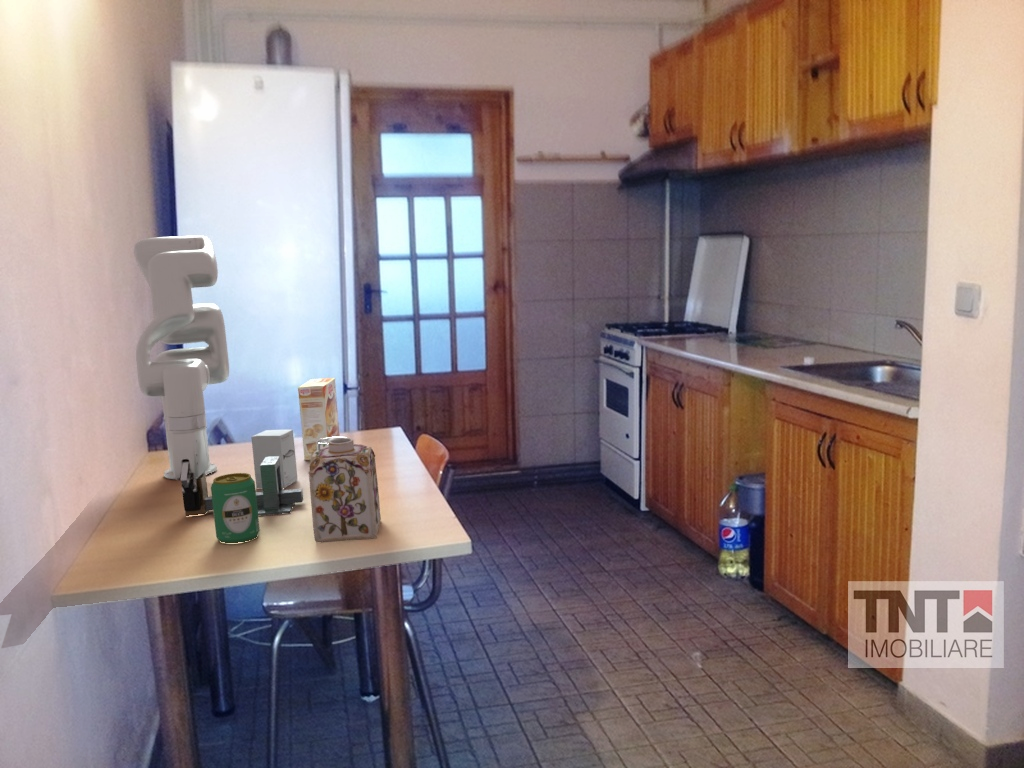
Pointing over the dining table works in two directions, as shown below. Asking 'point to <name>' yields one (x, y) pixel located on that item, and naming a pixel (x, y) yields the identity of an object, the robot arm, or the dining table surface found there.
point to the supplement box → (275, 453)
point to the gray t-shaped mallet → (284, 496)
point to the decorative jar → (344, 492)
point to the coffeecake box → (318, 412)
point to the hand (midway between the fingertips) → (196, 504)
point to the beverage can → (235, 508)
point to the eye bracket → (272, 487)
